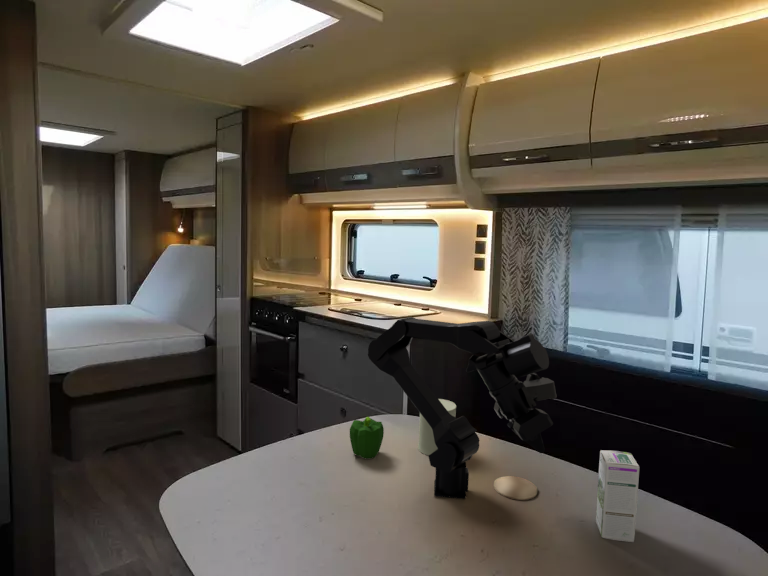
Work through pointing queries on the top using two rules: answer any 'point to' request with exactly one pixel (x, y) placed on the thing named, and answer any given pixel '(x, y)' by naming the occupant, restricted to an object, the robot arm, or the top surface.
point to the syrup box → (617, 495)
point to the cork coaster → (515, 488)
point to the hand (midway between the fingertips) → (542, 451)
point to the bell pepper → (366, 437)
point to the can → (426, 432)
